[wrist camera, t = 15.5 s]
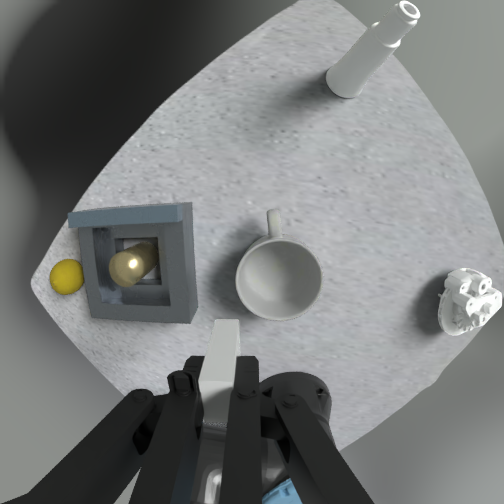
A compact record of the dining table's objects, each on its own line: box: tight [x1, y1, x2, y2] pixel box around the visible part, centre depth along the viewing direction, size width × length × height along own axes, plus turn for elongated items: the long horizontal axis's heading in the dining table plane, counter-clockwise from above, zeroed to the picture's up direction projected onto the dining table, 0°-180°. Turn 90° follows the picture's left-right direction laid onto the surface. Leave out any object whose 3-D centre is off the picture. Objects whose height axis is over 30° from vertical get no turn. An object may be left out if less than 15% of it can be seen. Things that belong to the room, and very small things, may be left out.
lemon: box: [50, 259, 84, 295], centre depth 39 cm, size 6×6×8 cm
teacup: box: [235, 209, 324, 321], centre depth 38 cm, size 14×11×8 cm
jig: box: [68, 202, 198, 324], centre depth 38 cm, size 16×16×8 cm
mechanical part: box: [438, 268, 502, 336], centre depth 38 cm, size 11×12×12 cm
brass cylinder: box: [109, 242, 159, 287], centre depth 38 cm, size 5×5×8 cm
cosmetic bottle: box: [326, 1, 420, 98], centre depth 26 cm, size 6×6×22 cm
